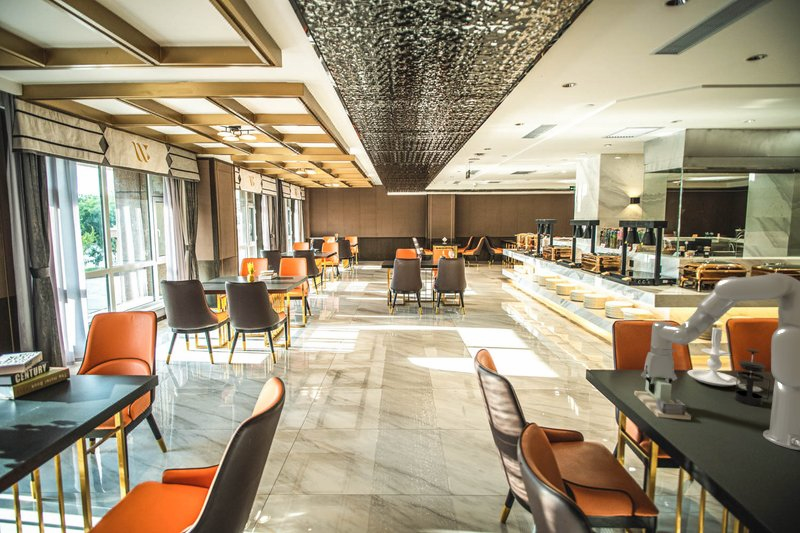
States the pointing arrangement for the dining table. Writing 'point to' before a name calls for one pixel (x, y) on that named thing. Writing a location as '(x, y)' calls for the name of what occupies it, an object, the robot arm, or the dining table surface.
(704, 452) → the dining table surface
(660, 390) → the pale green block
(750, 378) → the french press
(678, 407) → the board
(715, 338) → the candlestick
